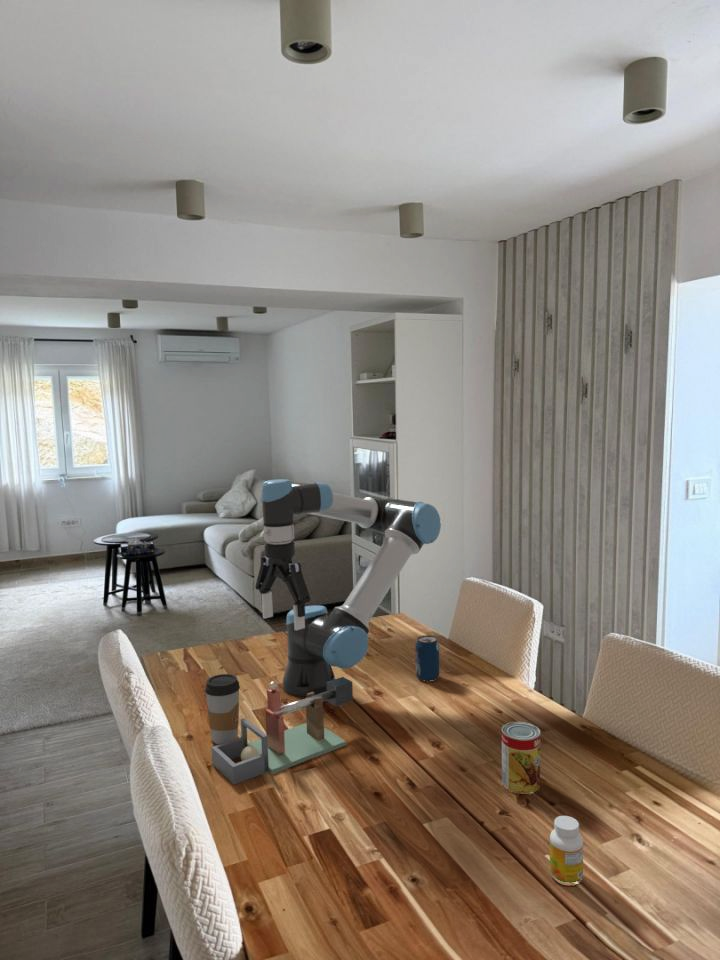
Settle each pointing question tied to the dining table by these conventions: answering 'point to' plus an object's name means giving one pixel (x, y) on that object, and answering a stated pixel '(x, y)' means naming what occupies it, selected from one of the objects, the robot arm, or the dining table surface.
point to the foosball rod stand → (335, 694)
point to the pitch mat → (299, 747)
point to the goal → (233, 750)
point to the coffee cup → (223, 707)
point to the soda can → (427, 658)
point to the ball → (249, 753)
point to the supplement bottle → (566, 850)
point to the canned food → (521, 757)
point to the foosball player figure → (315, 718)
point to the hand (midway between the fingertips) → (283, 623)
